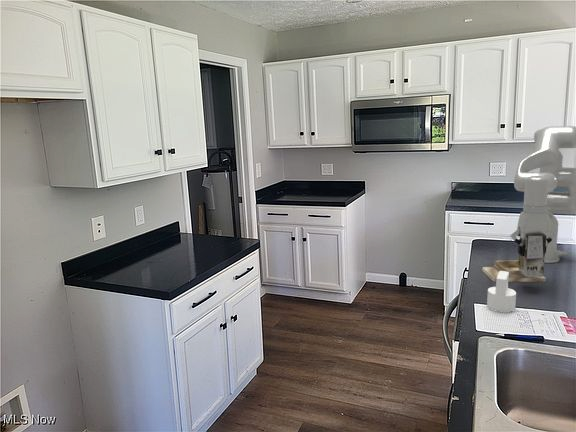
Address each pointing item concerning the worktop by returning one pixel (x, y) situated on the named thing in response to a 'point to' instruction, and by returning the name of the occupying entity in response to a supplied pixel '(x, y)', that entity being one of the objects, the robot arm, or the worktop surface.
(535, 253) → the coffee box
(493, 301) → the cylinder with rectangular tab
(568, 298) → the worktop surface
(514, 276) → the holder
